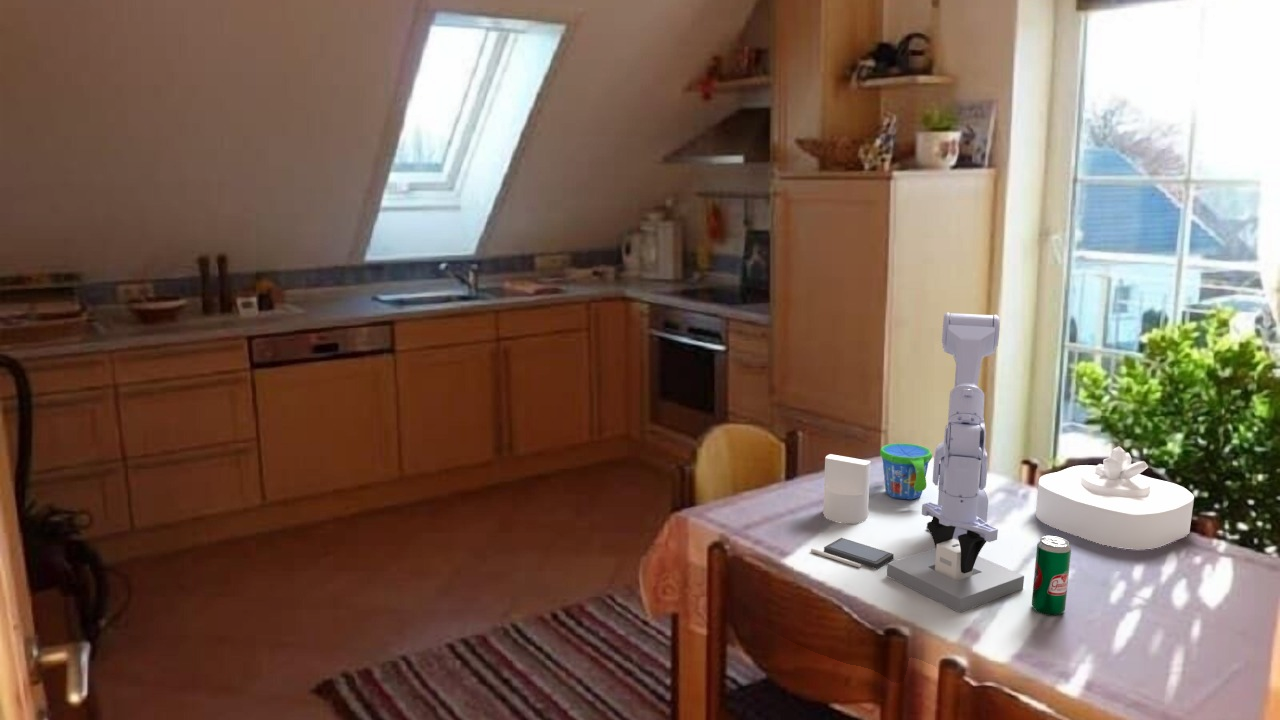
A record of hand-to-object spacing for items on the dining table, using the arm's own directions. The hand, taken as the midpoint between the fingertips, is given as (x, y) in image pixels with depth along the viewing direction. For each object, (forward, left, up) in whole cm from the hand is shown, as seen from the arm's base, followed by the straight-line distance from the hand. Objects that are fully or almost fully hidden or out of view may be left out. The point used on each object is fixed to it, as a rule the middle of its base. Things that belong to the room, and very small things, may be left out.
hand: (955, 566), depth 167 cm
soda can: (-5, +15, -3) cm, 16 cm away
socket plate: (0, 0, -3) cm, 3 cm away
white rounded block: (-6, -33, -3) cm, 34 cm away
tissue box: (-49, -2, -3) cm, 49 cm away
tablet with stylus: (+7, -18, -3) cm, 19 cm away
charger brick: (0, 0, -2) cm, 2 cm away
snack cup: (-25, -35, -3) cm, 43 cm away
